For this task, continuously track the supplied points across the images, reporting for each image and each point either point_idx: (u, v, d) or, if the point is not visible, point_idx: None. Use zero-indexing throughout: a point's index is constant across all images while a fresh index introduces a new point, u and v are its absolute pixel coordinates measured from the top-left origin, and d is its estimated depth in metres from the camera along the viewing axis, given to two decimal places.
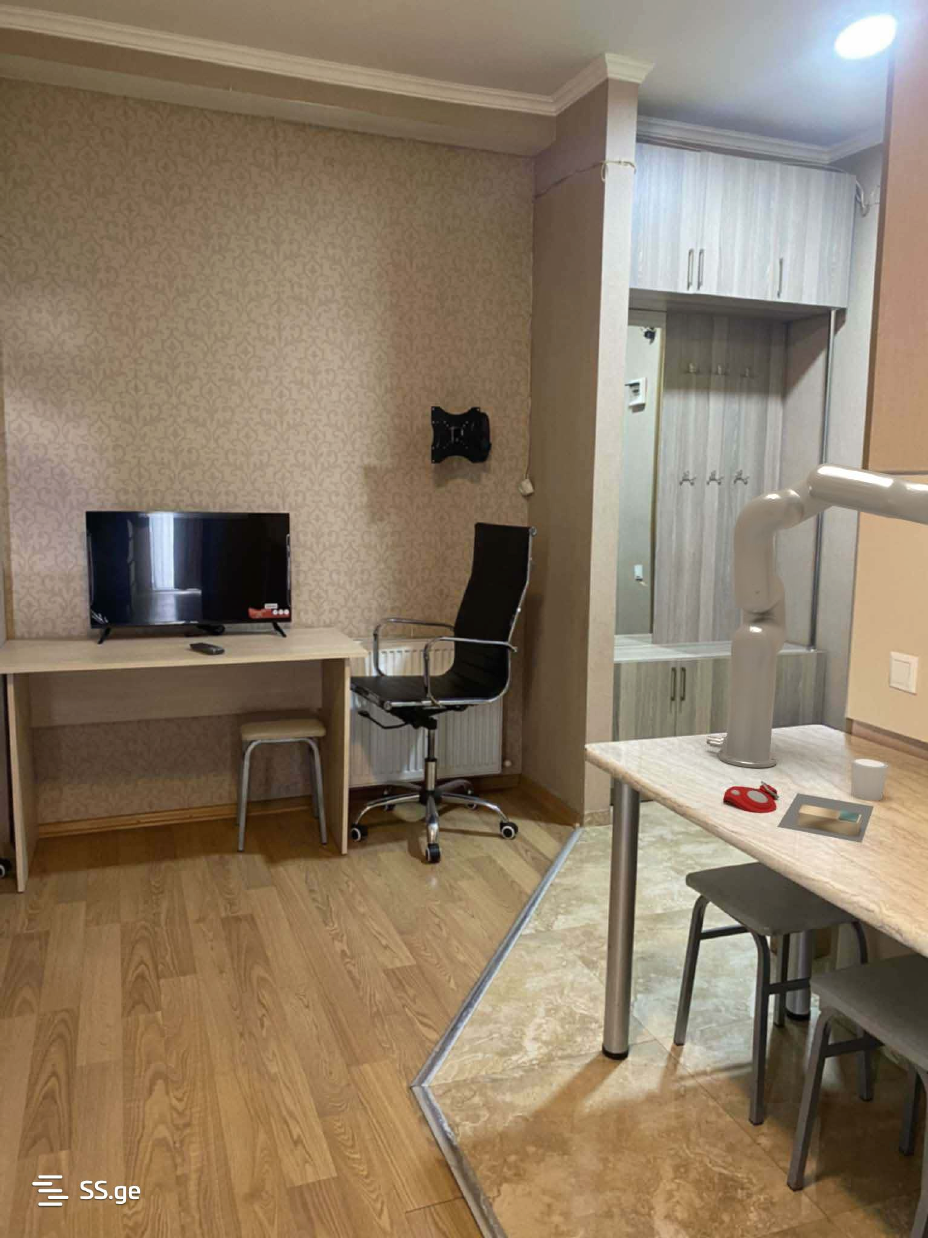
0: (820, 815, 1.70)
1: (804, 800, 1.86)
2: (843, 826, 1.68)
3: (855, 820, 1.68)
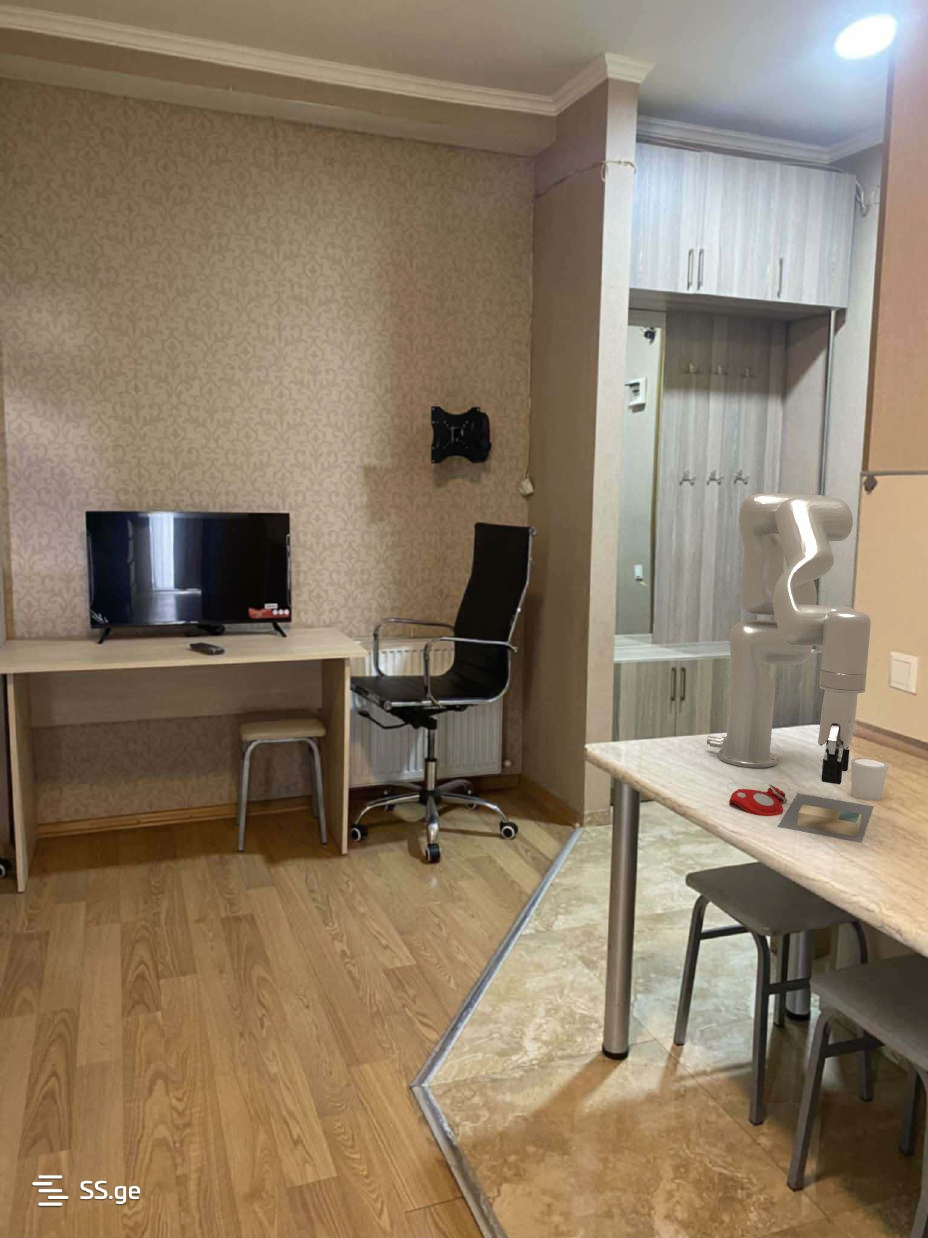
0: (820, 815, 1.70)
1: (804, 800, 1.86)
2: (843, 826, 1.68)
3: (855, 820, 1.68)
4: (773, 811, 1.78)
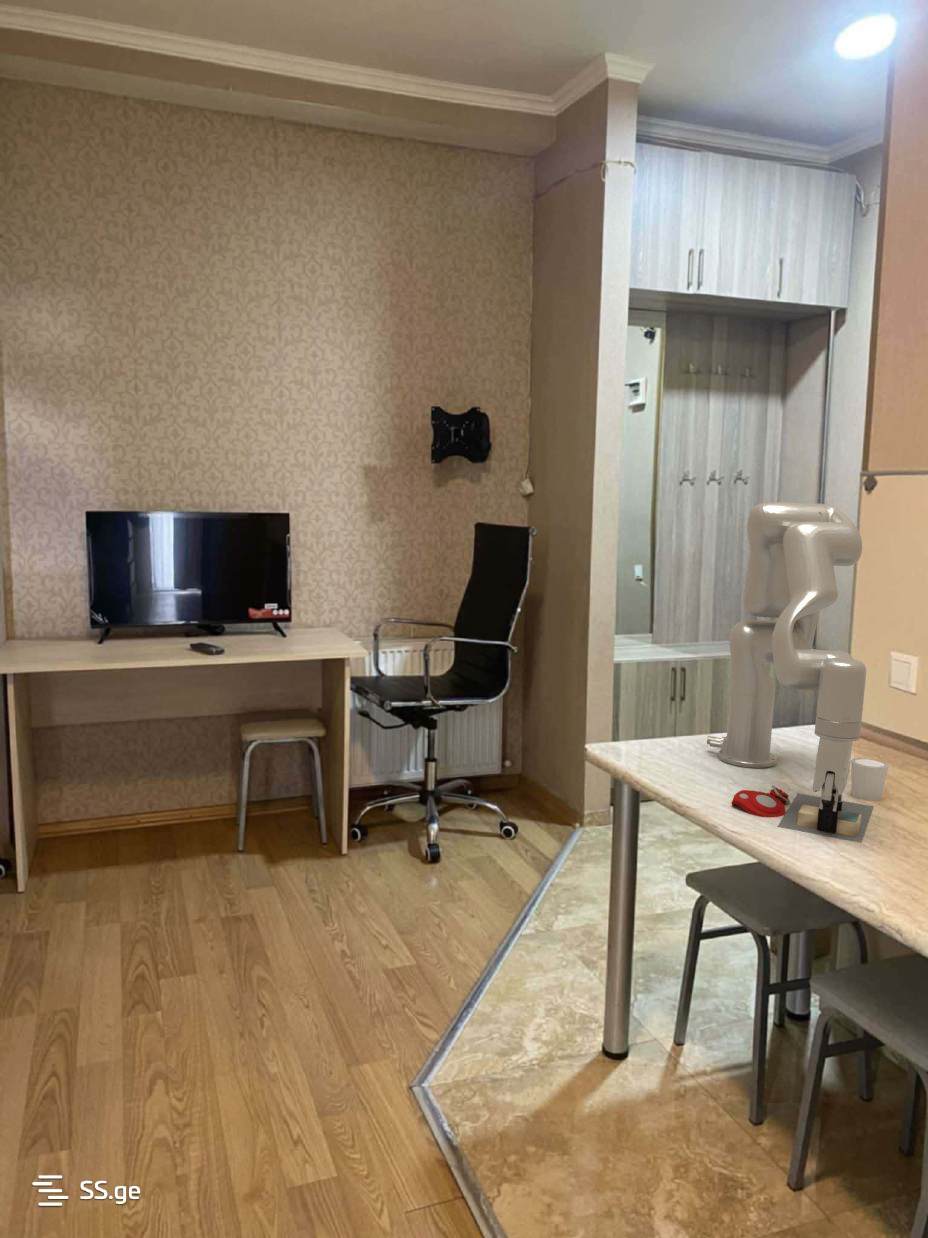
0: None
1: (804, 800, 1.86)
2: (843, 826, 1.68)
3: (855, 820, 1.68)
4: (775, 813, 1.77)
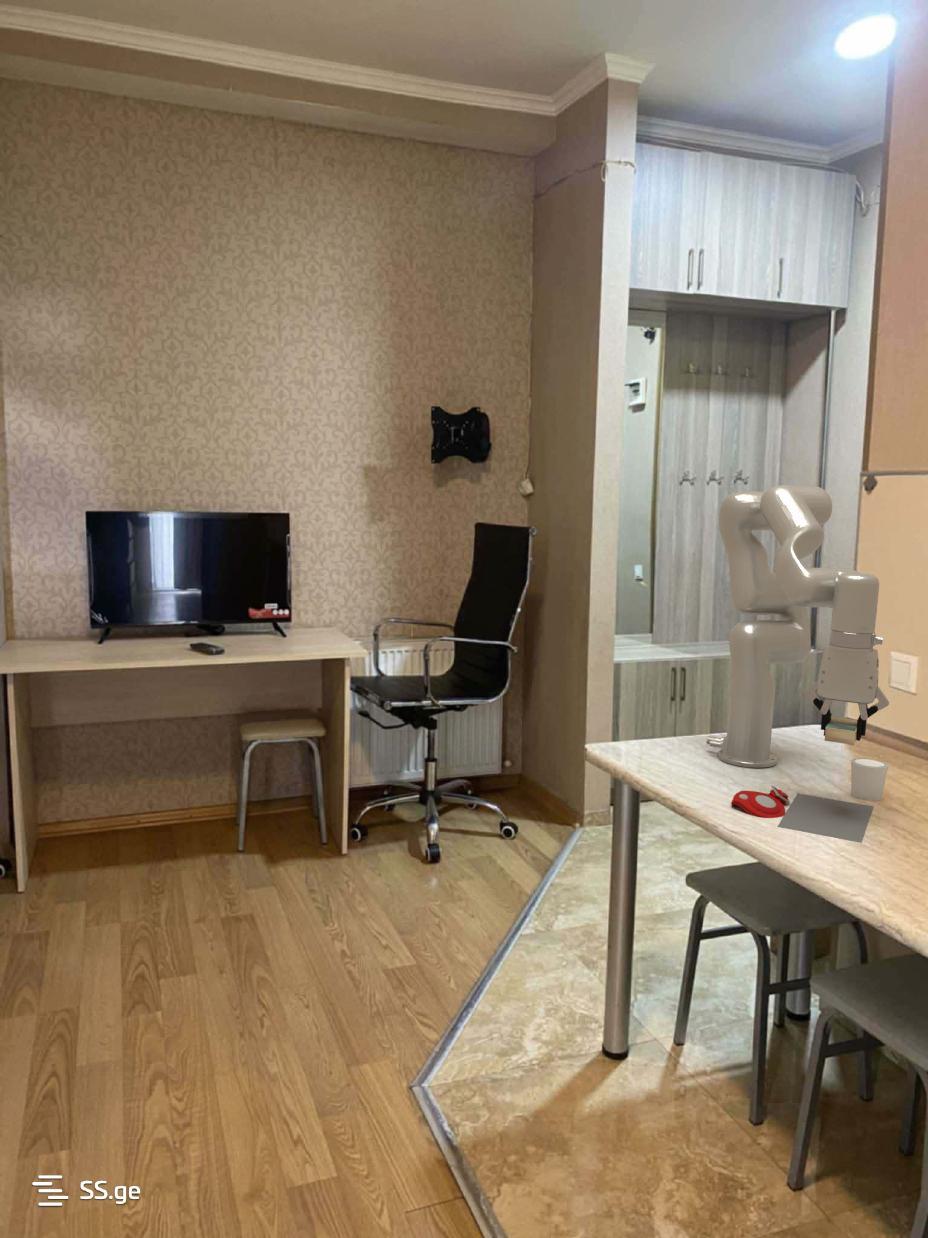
0: (832, 720, 1.80)
1: (804, 800, 1.86)
2: None
3: (830, 726, 1.75)
4: (775, 813, 1.77)
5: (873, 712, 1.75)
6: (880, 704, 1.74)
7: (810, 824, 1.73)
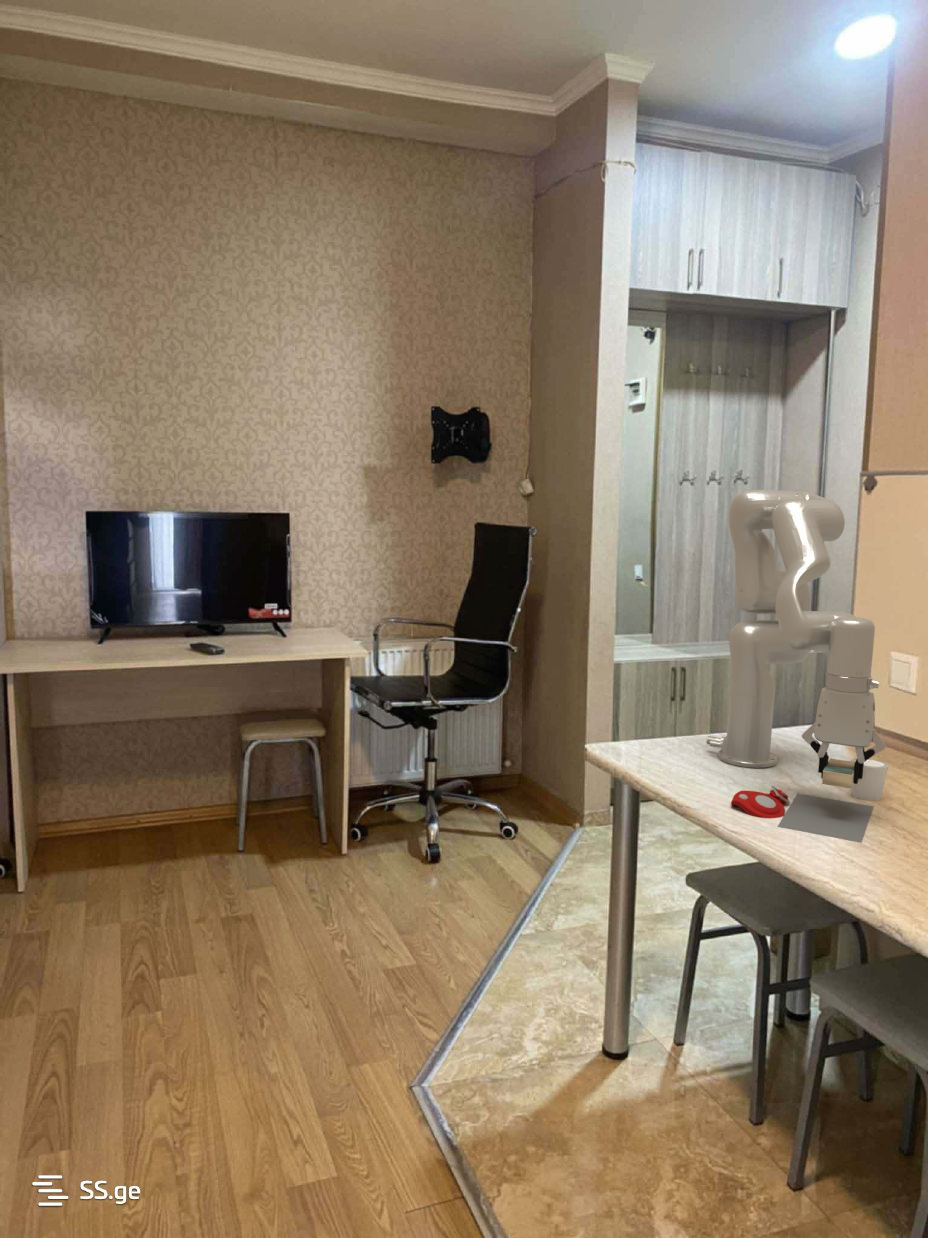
0: (830, 763, 1.81)
1: (804, 800, 1.86)
2: None
3: (828, 770, 1.76)
4: (775, 813, 1.76)
5: (870, 755, 1.75)
6: (877, 748, 1.75)
7: (810, 824, 1.73)
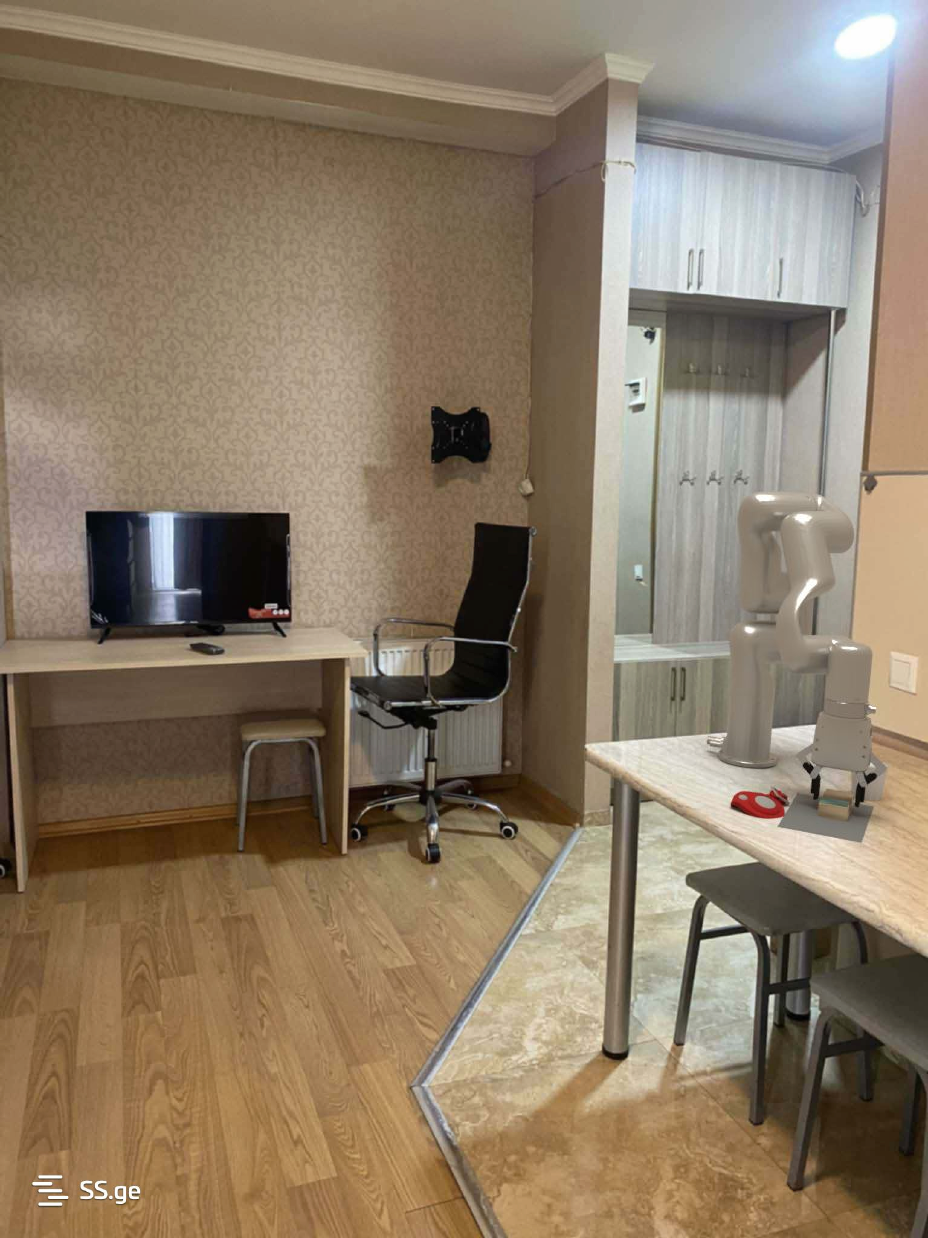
0: (826, 794, 1.82)
1: (804, 800, 1.86)
2: None
3: (823, 802, 1.77)
4: (775, 814, 1.76)
5: (872, 779, 1.76)
6: (878, 771, 1.76)
7: (810, 824, 1.73)
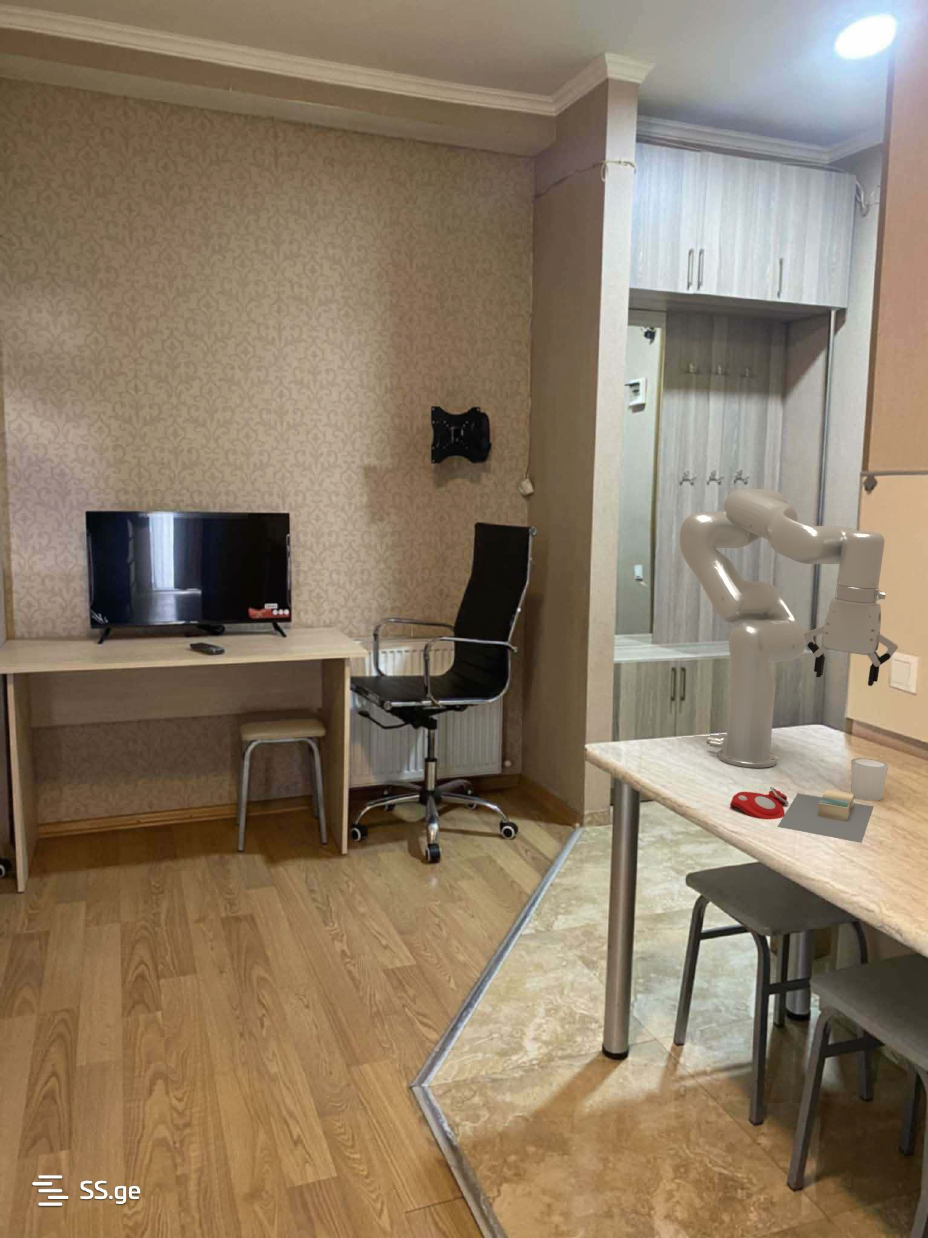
0: (826, 794, 1.82)
1: (804, 800, 1.86)
2: None
3: (823, 802, 1.77)
4: (774, 814, 1.76)
5: (885, 659, 1.84)
6: (890, 650, 1.84)
7: (810, 824, 1.73)
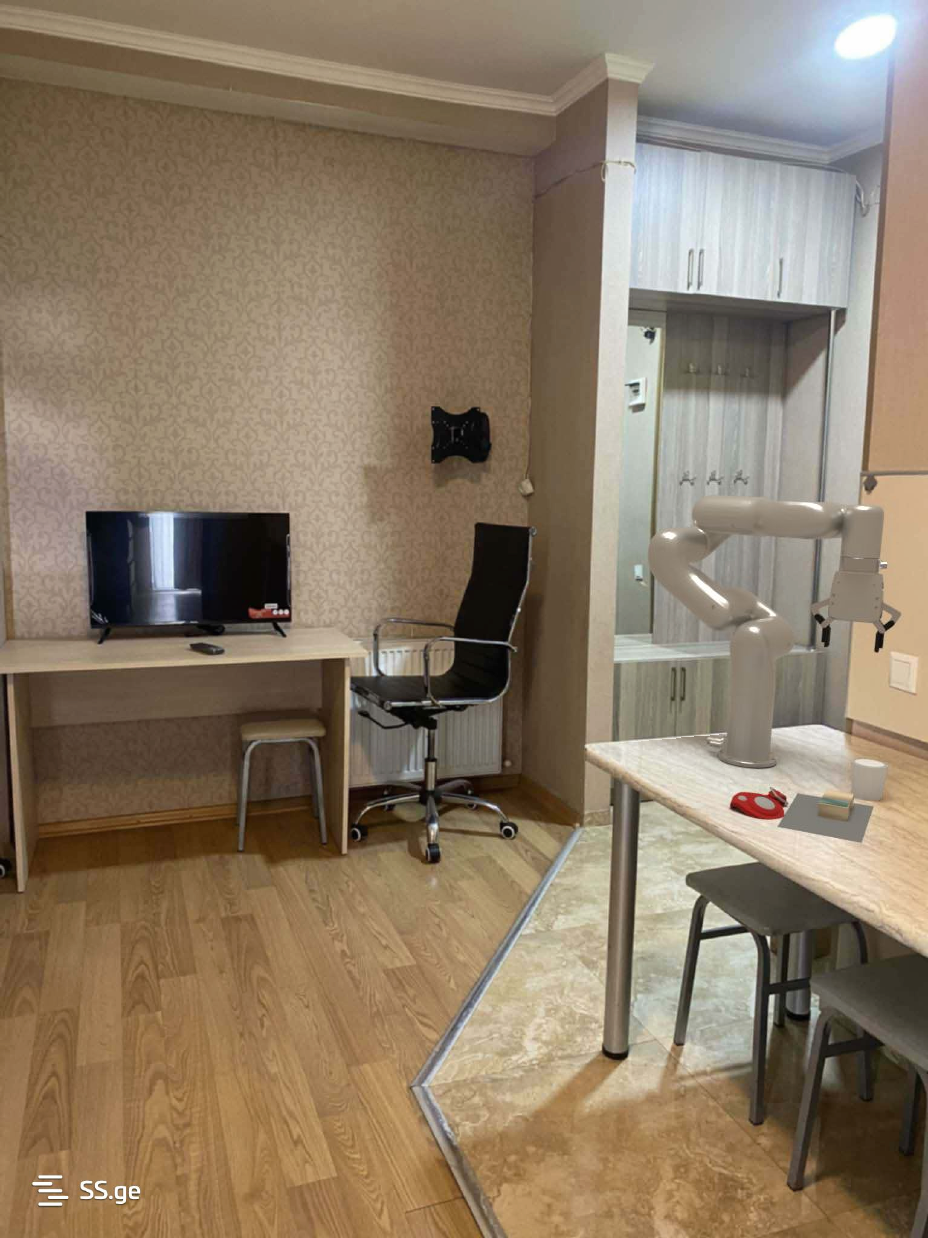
0: (826, 794, 1.82)
1: (804, 800, 1.86)
2: None
3: (823, 802, 1.77)
4: (774, 815, 1.76)
5: (890, 626, 1.92)
6: (894, 617, 1.92)
7: (810, 824, 1.73)
